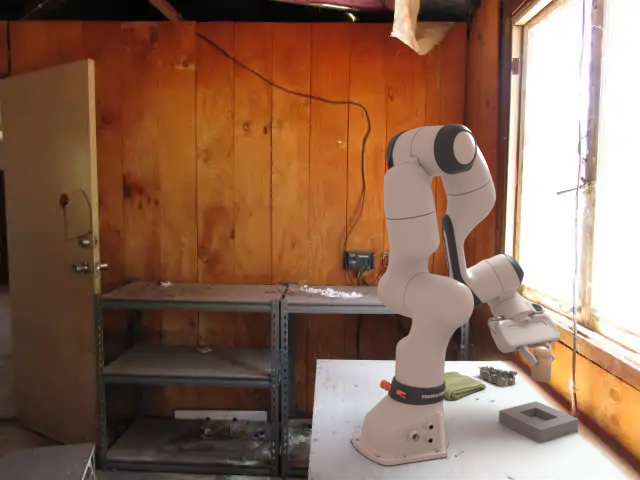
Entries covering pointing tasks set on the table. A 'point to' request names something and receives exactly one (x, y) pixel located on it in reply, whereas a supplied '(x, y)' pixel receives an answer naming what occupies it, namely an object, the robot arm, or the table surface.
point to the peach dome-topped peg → (542, 365)
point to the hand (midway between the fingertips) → (543, 362)
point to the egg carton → (498, 376)
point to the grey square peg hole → (538, 421)
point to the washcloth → (460, 385)
